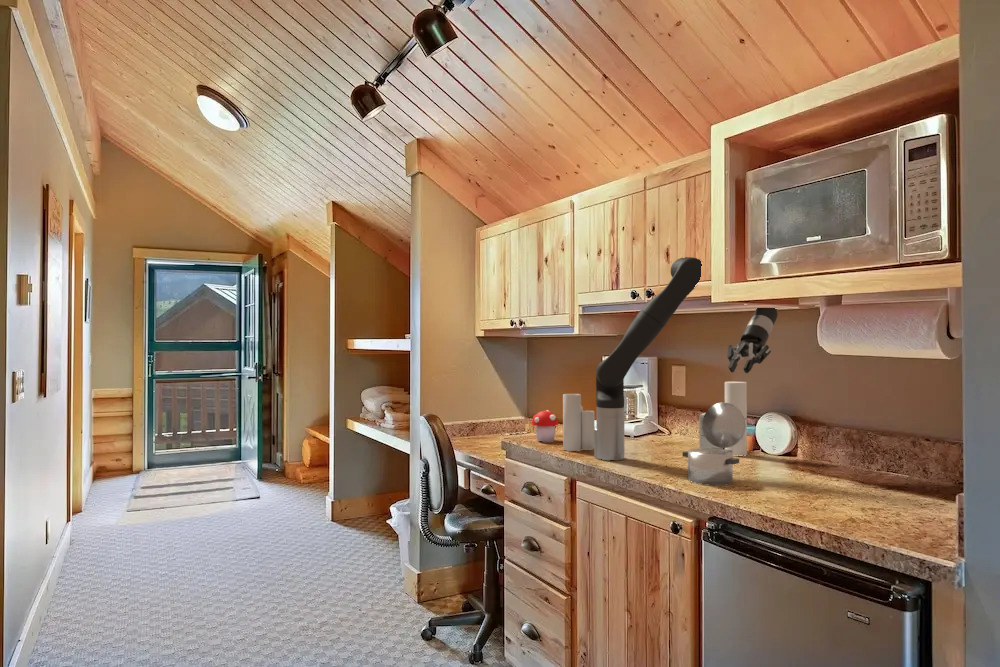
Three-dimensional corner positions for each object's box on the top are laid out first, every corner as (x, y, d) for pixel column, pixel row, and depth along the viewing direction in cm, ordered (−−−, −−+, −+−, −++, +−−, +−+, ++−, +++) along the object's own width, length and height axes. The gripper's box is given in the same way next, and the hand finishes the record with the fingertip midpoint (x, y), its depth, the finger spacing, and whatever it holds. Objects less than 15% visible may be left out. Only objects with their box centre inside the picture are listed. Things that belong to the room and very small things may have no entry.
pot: (673, 478, 185) (673, 450, 185) (700, 472, 194) (699, 445, 194) (725, 488, 172) (724, 458, 173) (750, 481, 181) (750, 452, 181)
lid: (704, 400, 193) (710, 402, 195) (700, 444, 191) (706, 445, 193) (745, 404, 183) (751, 405, 185) (741, 450, 181) (747, 451, 183)
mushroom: (550, 443, 246) (550, 412, 246) (525, 441, 252) (525, 410, 252) (563, 440, 255) (563, 409, 255) (539, 437, 261) (539, 408, 261)
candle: (567, 452, 228) (567, 395, 229) (559, 448, 235) (559, 393, 235) (596, 450, 232) (596, 394, 232) (588, 447, 239) (588, 393, 239)
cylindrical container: (748, 456, 218) (748, 383, 219) (726, 456, 220) (726, 382, 220) (745, 453, 225) (744, 381, 226) (723, 452, 227) (723, 381, 227)
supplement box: (705, 446, 240) (705, 412, 240) (725, 448, 236) (725, 413, 236) (698, 449, 234) (698, 414, 234) (719, 451, 230) (719, 415, 230)
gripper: (732, 324, 212) (712, 362, 204) (774, 323, 202) (755, 363, 194) (740, 340, 216) (721, 378, 208) (782, 340, 205) (764, 380, 197)
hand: (738, 370), depth 201 cm, fingers open, 4 cm apart
